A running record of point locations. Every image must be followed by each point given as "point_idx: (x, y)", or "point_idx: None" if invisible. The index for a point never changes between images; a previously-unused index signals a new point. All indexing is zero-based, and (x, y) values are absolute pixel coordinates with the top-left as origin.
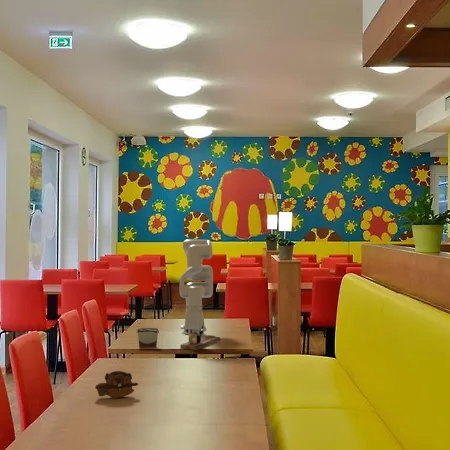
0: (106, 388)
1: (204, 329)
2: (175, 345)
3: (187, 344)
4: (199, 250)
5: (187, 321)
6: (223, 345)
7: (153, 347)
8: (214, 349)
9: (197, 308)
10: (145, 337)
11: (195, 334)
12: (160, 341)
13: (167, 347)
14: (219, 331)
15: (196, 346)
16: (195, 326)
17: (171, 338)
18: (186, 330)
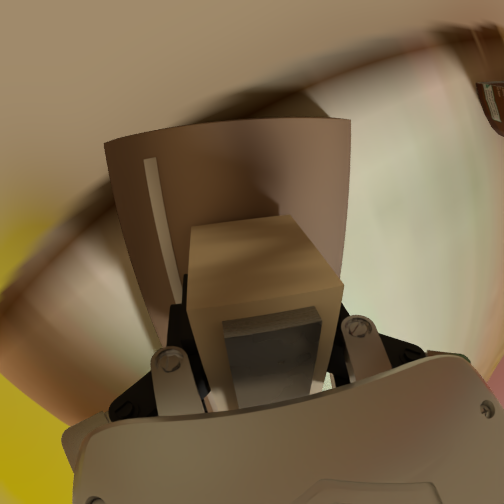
0: None
1: (78, 447)
2: (412, 222)
3: (282, 174)
4: None
5: (495, 488)
6: (105, 385)
7: (486, 82)
8: (32, 264)
9: None
10: None
11: (190, 320)
12: (483, 271)
13: (436, 121)
14: None
15: (110, 141)
16: (215, 496)
17: (443, 346)
18: (416, 354)
